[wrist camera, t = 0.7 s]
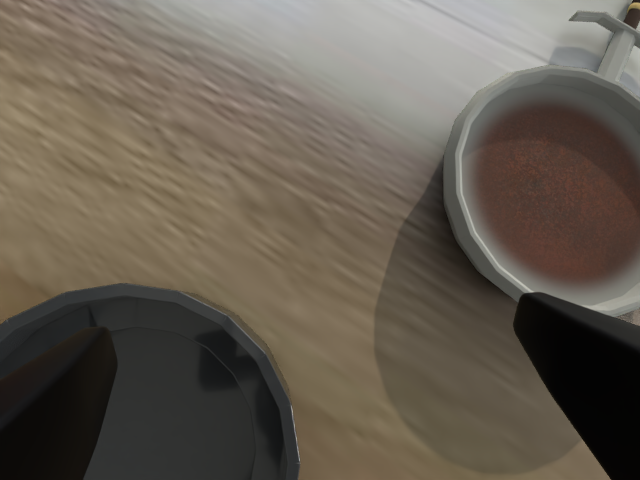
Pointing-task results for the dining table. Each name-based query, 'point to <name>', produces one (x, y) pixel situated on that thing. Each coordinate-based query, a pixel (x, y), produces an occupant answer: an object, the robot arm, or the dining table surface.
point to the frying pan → (553, 179)
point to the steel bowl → (172, 385)
